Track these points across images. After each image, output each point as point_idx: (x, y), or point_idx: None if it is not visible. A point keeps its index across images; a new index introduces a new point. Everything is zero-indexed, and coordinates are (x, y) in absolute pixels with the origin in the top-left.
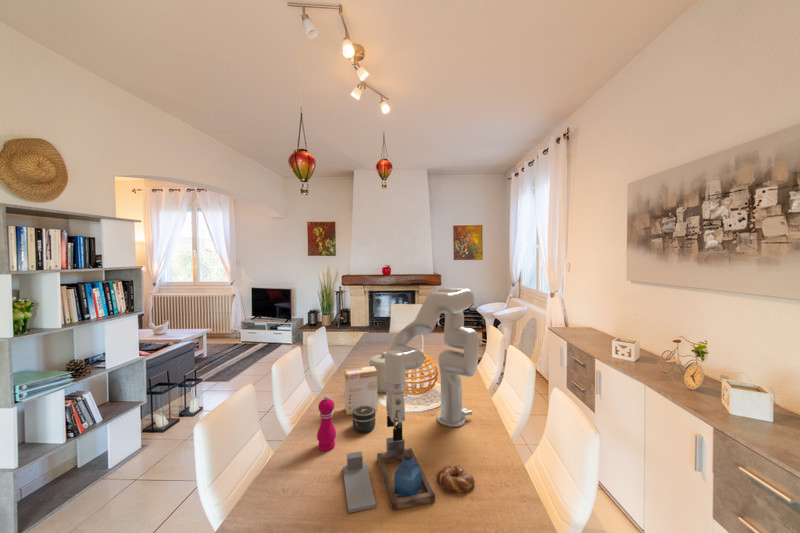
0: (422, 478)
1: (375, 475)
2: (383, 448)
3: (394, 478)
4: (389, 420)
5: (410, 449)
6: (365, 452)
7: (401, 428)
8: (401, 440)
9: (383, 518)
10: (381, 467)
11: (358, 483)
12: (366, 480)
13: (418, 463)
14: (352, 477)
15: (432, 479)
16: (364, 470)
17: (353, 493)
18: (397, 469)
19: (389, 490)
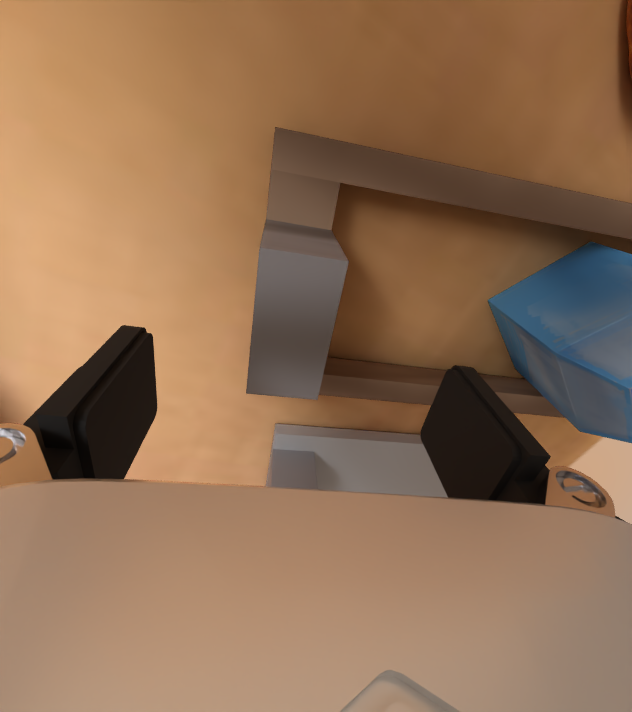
0: (612, 232)
1: (366, 403)
2: (149, 303)
3: (562, 413)
4: (126, 454)
5: (295, 149)
6: (167, 402)
7: (593, 498)
8: (335, 290)
9: (577, 432)
10: (379, 399)
11: (397, 477)
12: (400, 454)
13: (485, 179)
14: (353, 488)
15: (594, 129)
16: (334, 448)
17: (434, 496)
18: (612, 435)
19: (539, 412)
